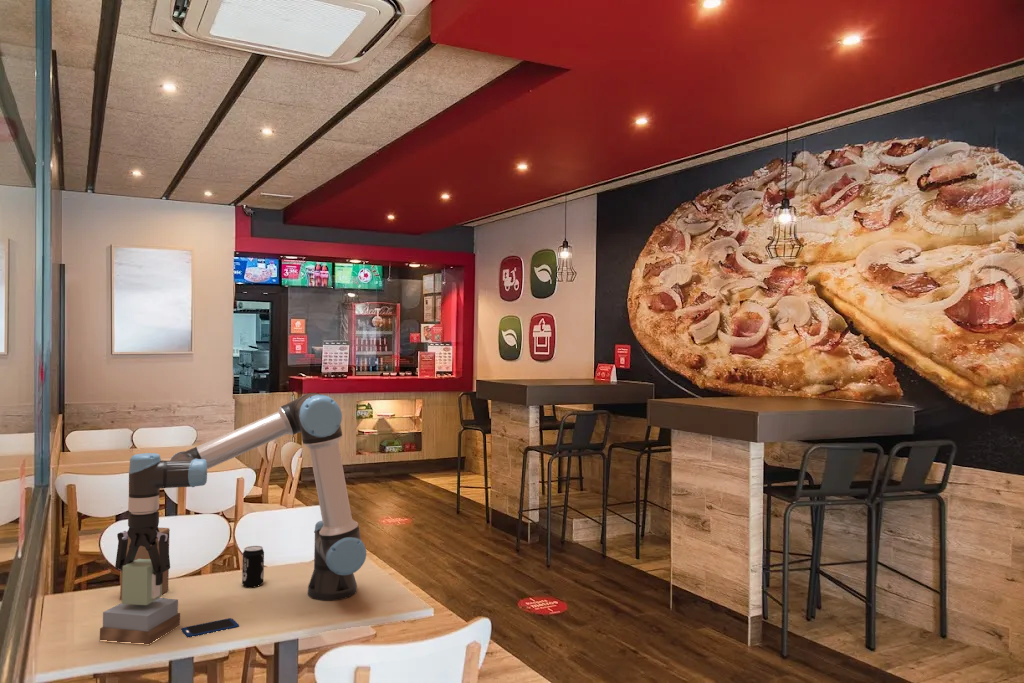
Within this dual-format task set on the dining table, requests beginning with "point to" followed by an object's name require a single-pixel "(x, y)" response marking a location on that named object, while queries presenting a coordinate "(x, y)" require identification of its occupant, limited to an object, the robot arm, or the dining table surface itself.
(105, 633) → the walnut base block
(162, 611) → the slate top block
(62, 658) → the dining table surface
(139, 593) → the sage block
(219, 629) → the cell phone
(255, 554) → the beverage can
